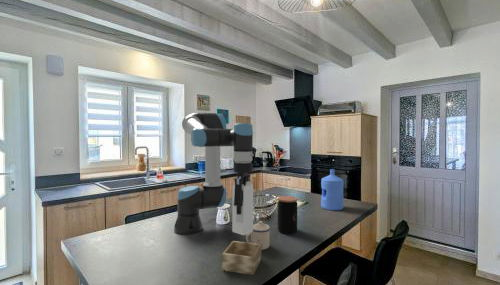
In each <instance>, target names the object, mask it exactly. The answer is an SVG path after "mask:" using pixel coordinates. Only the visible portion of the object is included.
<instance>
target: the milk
mask: <svg viewBox="0 0 500 285" xmlns="http://www.w3.org/2000/svg"><path fill="white" fill-rule="evenodd" d="M242 190H243V223H240V222H236V206H235V205H234V195H235V183H233V184H232V206H231V207H232V208H231V209H232V218H231V220H232V223H231V224H232V228H231V231H232V233H235V234H239V235H241V236H246V235H247V234H248V233H250V232H252V231H253V225H254V184H253V183H252V182H251V180H250V181H248V182H246V186H244V184H242Z"/></svg>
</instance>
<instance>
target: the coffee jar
mask: <svg viewBox="0 0 500 285" xmlns="http://www.w3.org/2000/svg"><path fill="white" fill-rule="evenodd" d="M297 201H298V197H295V196H292V195H291V196H290V195H282V196H278V197H277V231H278V232H279V233H281V234H283V235H284V234H286V235H293V234H295V233H296V232H297V231H298V202H297Z"/></svg>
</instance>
